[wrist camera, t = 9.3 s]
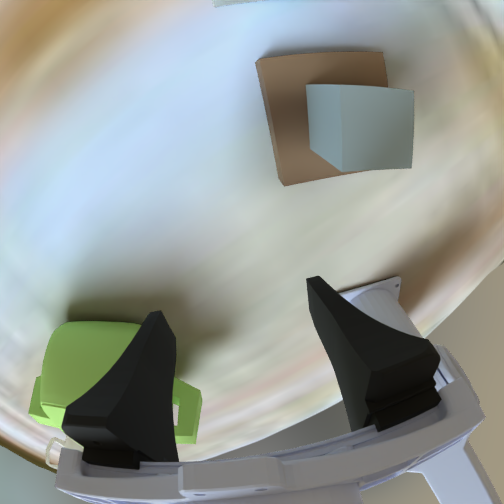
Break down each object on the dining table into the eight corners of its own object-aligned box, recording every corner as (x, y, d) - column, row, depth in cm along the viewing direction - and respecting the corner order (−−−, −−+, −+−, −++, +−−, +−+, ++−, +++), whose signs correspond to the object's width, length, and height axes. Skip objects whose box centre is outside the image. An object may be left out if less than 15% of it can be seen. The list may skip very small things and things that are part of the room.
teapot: (211, 403, 36) (216, 486, 25) (85, 397, 34) (70, 469, 23) (193, 308, 27) (188, 435, 16) (29, 308, 25) (-17, 397, 14)
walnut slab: (379, 158, 22) (394, 166, 19) (277, 176, 22) (284, 186, 20) (366, 54, 17) (382, 52, 15) (254, 63, 17) (259, 58, 15)
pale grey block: (368, 145, 18) (411, 168, 14) (309, 148, 18) (341, 172, 14) (366, 85, 16) (413, 90, 11) (305, 84, 16) (339, 84, 11)
